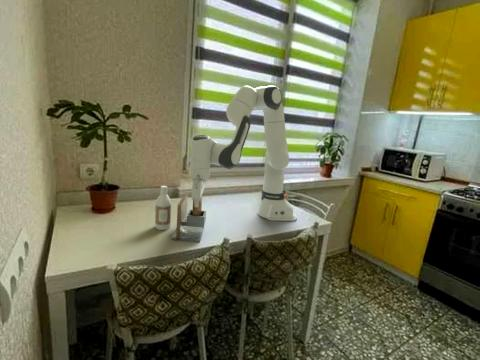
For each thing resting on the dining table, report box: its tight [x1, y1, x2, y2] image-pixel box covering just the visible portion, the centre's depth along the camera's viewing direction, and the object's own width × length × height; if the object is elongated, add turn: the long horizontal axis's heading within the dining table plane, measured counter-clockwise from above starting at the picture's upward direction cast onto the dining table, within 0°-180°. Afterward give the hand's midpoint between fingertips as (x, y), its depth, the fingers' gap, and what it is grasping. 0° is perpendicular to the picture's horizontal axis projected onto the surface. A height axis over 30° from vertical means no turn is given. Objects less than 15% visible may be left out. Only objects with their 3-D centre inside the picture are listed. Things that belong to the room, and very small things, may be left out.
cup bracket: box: [171, 193, 207, 243], centre depth 126 cm, size 13×16×16 cm
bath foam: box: [154, 185, 172, 231], centre depth 129 cm, size 7×7×20 cm
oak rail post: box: [191, 195, 203, 216], centre depth 125 cm, size 4×4×12 cm
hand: (198, 203), depth 125 cm, fingers open, 8 cm apart
